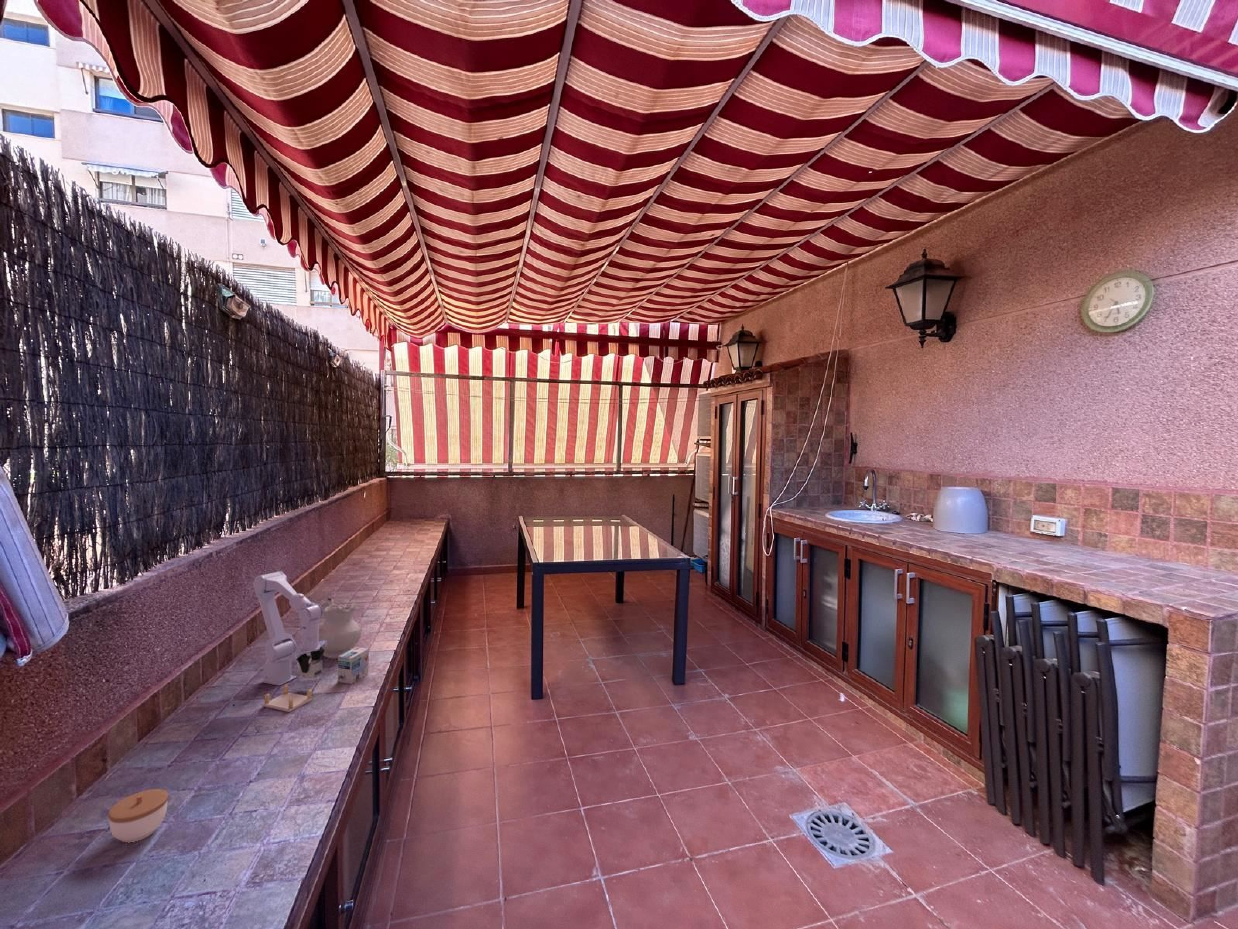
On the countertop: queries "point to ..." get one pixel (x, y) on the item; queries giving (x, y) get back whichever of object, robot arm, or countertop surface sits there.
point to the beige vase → (338, 629)
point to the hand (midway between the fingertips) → (309, 670)
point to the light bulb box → (353, 665)
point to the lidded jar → (138, 815)
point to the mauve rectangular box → (311, 668)
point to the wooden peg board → (287, 700)
